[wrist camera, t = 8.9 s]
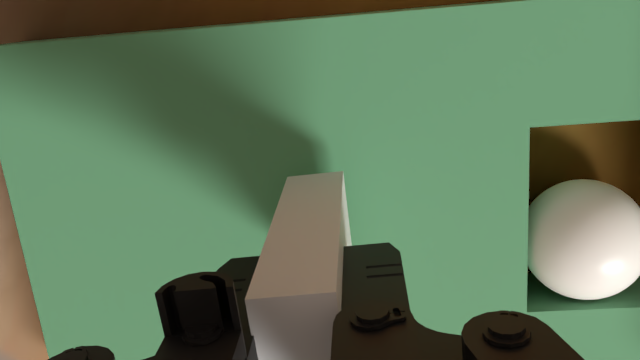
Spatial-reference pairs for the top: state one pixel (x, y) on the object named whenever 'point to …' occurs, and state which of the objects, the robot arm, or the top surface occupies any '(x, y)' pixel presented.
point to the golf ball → (584, 239)
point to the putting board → (308, 155)
